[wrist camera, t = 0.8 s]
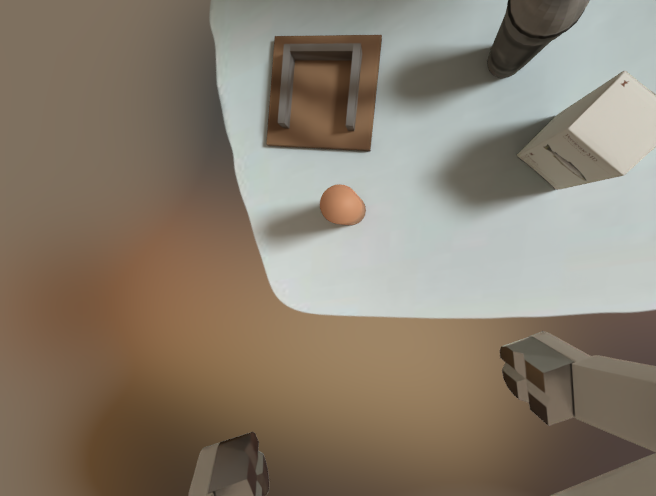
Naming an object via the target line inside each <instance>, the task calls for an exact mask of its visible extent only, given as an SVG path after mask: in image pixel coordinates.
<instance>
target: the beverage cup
mask: <svg viewBox="0 0 656 496" xmlns="http://www.w3.org/2000/svg"><path fill="white" fill-rule="evenodd" d="M589 1H590V0H508V3H507V5H508V6H507V10H506V14H505V16H504V19H503V21H502V24H501V26H500V29H499V31H498V33H497V36H496V38H495V41H494V43H493V45H492V48H491V51H490V55H489V57H488V61H487V63H488V68H489V71H490V72H491V73H492V74H493V75H495V76H497V77H501V78H506V77H510V76H512V75H514V74H515V73H516V72H517V71H519V70H520V69H521V68H522V67H524V66H525V65H526V64H527V63H528V62H529V61H530V60H531V59H532V58H533V57H535V56H536V55H537V54H538V53H539V52H540V51H541V50H542V49H543V48H544V47H545V46H546V45H547V44H549V43H550V42H551V41H552V40H554V39H555V38H557V37H558V36H560V35H561V34H562V33H564V32H566V31H567V30H569V29H570V28H571V27H572V26H573V25H574V24H575V23H577V21H578V19H579V18H580V16H581V15H582V13H583V12H584V10H585V7H586V6H587V4H588V3H589Z"/></svg>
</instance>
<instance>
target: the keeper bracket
mask: <svg viewBox="0 0 656 496" xmlns="http://www.w3.org/2000/svg"><path fill="white" fill-rule="evenodd" d="M381 41H382V35H338V36H275V41H274V54H273V67H272V80H271V92H270V105H269V118H268V131H267V145H269V146H283V147H302V148H321V149H341V150H360V151H370V148H371V138H372V129H373V119H374V109H375V100H376V90H377V80H378V71H379V61H380V51H381Z"/></svg>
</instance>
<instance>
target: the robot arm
mask: <svg viewBox="0 0 656 496" xmlns="http://www.w3.org/2000/svg"><path fill="white" fill-rule="evenodd" d="M500 358H501V359H502V360H503V361H505V364H504V367H503V369H502V373H503V378H504V381H505V383H506V385H507V387H508V388H509V390H510V391H511V392H512V393H513V395H514V396H516V397H517V398H518V399H519V400H522V401H525V402H528V403H529V406H530V410H531V411H532V412H534V413H535V414H536V415H537V416H538V417H539V418H540V419H541V420H543V422H545V423H546V424H547V425H548V426H549V425H553V424H555V423H558V422H561V421H564V420H567V419H570V418H573V417H575V419H578V420H580V421H583V422H585V423H587V424H590V425H592V426H594V427H597V428H599V429H602V430H604V431H606V432H609V433H611V434H613V435H616V436H618V437H621V438H623V439H625V440H628V441H630V442H633V443H635V444H637V445H640V446H642V447H644V448H647V449H649V450H651V451H654V452H656V366H651V365H645V364H641V363H635V362H630V361H625V360H620V359H614V358H609V357H604V356H598V355H595V356H590V355H588V354H586V353H584V352H582V351H581V350H579V349H577V348H575V347H573V346H572V345H570V344H568V343H566V342H564V341H562V340H561V339H559V338H557V337H555V336H553V335H552V334H550V333H548V332H543V331H542V332H540V333H537V334H534V335H532V336H529V337H528V338H525V339H522V340H519V341H516V342H513V343H511V344H507V345H504V346H502V347H501V348H500ZM258 447H259V441H258V439H257V437H256V434H255V433H254V432H251V433H247V434H244V435H241V436H238V437H235V438H232V439H228V440H226V441H222V442H220V443H217V444H214V445H210V446H207V447H204V448H203V449H202V450H201V452H200V454H199V458H198V462H197V465H196V469H195V472H194V476H193V480H192V483H191V487H190V490H189V494H188V496H266V495H267V493H268V492H269V475H268V468H267V464H266V460H265V457H264V455H263V453H261V452H259V451H258ZM551 496H656V453H655V454H652V455H650V456H647V457H645V458H642V459H640V460H637V461H635V462H632V463H630V464H627V465H625V466H622V467H620V468H617V469H615V470H612V471H610V472H607V473H605V474H603V475H600V476H598V477H595V478H593V479H590V480H588V481H585V482H583V483H580V484H578V485H575V486H573V487H570V488H568V489H565V490H563V491H561V492H558V493H556V494H553V495H551Z"/></svg>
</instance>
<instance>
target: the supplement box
mask: <svg viewBox="0 0 656 496" xmlns="http://www.w3.org/2000/svg"><path fill="white" fill-rule="evenodd" d="M655 147H656V94H654V93H653V92H652V91H650V90H649V89H648V88H646V87H645V86H644V85H643V84H641V83H640V82H639V81H638V80H636V79H635V78H634V77H633V76H631V75H630V74H629V73H628V72H627V71H623V72H621V73H620V74H618V75H617V76H615V77H614V78H612V79H611V80H609V81H608V82H606V83H605V84H603V85H602V86H600V87H599V88H597V89H596V90H594V91H592V92H591V93H589V94H588V95H586V96H585V97H583V98H582V99H580V100H579V101H577V102H576V103H574V104H573V105H571V106H570V107H568V108H567V109H565V110H564V111H562V112H561V113H559V114H558V115H556V116H555V117H554V118H553V119H552V120H551V121H550V122H549V123H548V124H547V125H546V126H545V127H544V128H543V129H542V130H541V131H540V132H539V133H538V134H537V135H536V136H535V137H534V138H533V139H532V140H531V141H530V142H529V143H528V144H527V145H526V146H525V147H524V148H523V149H522V150H521V151H520V152H519V153H518V154H517V156H518V157H519V158H520V159H522V160H523V161H524V162H526V163H527V164H528V165H529V166H530V167H532V168H533V169H534V170H535V171H536V172H538V173H539V174H540V175H541V176H542V177H543V178H544V179H545V180H547V181H548V182H549V183H550V184H551V185H552V186H553V187H554V188H555V189H556V190H559V189H564V188H568V187H573V186H577V185H582V184H586V183H591V182H596V181H600V180H605V179H610V178H614V177H619V176H623V175H625V174H626V173H627V172H628V171H629V170H631V169H632V168H633V167H634V166H635V165H636V164H637V163H638V162H639V161H640V160H641V159H643V158H644V157H645V156H646V155H647V154H648V153H649V152H650V151H652V150H653V149H654V148H655Z"/></svg>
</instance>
